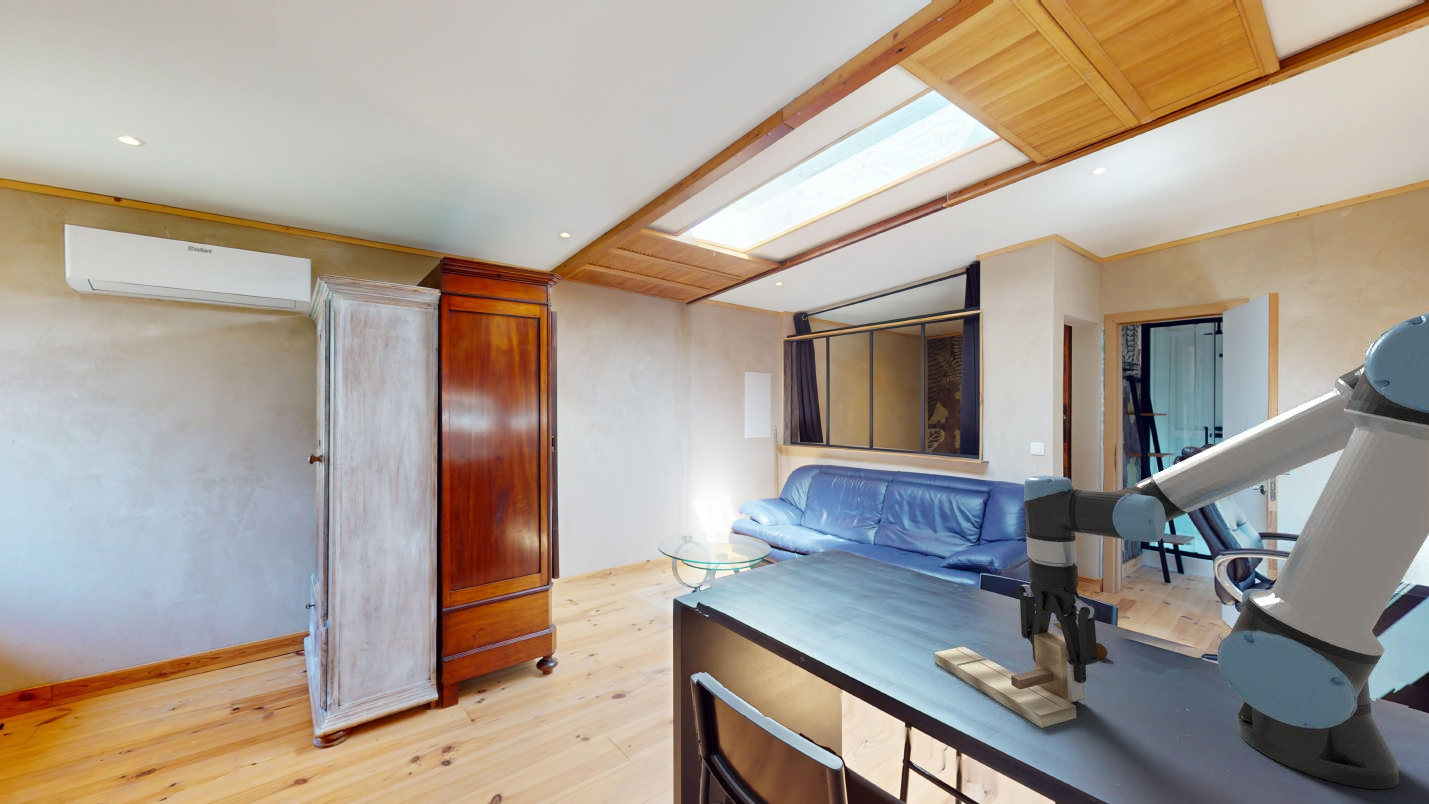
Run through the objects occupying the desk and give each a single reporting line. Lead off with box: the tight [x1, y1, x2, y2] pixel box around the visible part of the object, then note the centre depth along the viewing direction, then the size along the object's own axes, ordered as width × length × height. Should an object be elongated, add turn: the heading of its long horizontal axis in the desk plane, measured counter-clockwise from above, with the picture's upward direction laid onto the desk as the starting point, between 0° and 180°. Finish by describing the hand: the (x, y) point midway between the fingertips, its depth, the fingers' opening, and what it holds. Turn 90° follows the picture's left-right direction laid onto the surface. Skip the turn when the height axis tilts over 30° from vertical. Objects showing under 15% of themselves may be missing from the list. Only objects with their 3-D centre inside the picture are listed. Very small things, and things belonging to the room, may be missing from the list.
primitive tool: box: [1052, 622, 1108, 660], centre depth 111 cm, size 19×6×4 cm, turn 165°
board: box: [933, 646, 1077, 729], centre depth 92 cm, size 24×8×2 cm, turn 18°
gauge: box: [1011, 630, 1085, 704], centre depth 87 cm, size 5×13×10 cm, turn 108°
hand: (1060, 690), depth 88 cm, fingers closed on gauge, 5 cm apart
